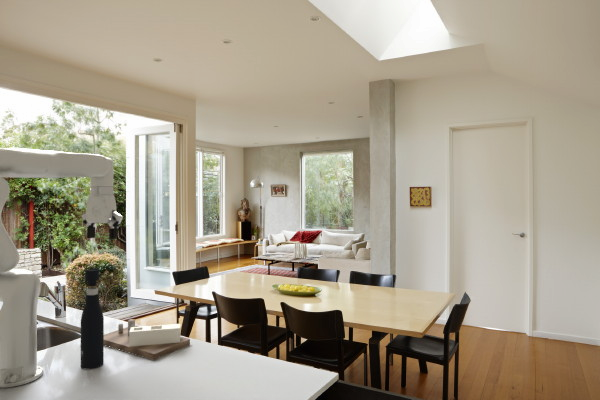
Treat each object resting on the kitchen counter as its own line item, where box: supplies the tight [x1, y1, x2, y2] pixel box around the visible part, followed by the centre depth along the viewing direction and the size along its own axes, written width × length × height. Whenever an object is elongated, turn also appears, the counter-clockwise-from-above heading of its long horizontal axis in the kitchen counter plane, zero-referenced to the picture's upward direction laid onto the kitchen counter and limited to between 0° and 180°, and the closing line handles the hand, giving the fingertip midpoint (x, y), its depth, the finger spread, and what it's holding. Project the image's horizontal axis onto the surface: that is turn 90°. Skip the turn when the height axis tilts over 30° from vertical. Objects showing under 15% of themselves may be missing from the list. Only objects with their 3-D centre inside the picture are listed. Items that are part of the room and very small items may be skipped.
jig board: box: [104, 318, 191, 361], centre depth 148 cm, size 30×16×8 cm, turn 61°
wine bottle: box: [80, 268, 105, 370], centre depth 129 cm, size 6×6×30 cm
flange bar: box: [129, 323, 181, 347], centre depth 145 cm, size 17×5×5 cm, turn 106°
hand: (102, 238), depth 151 cm, fingers open, 9 cm apart
